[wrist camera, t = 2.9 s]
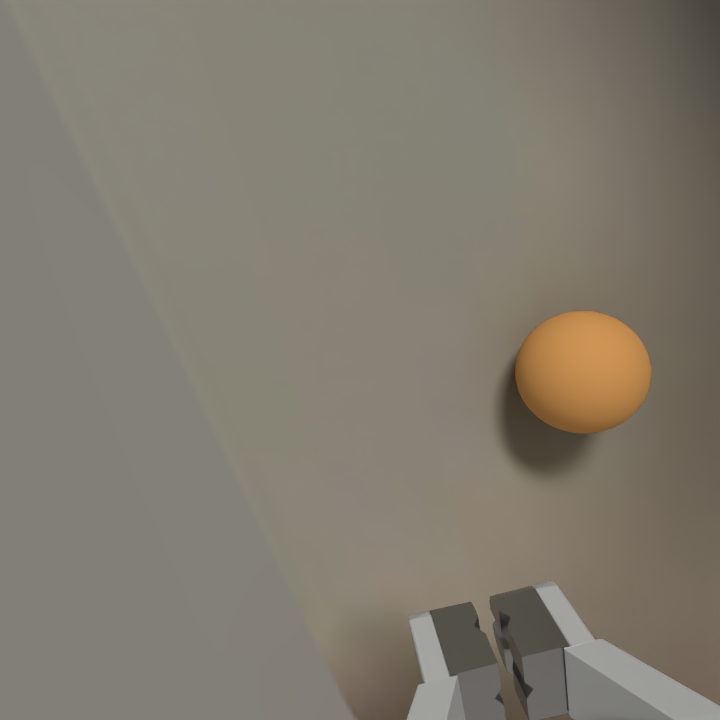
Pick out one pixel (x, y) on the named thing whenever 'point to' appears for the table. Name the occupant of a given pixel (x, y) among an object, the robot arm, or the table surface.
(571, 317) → the ball
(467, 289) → the table surface
